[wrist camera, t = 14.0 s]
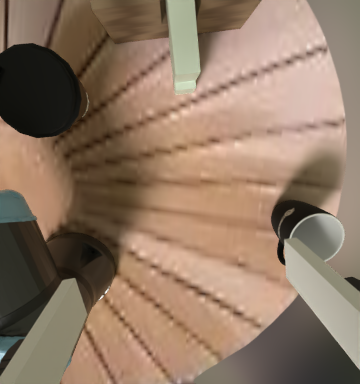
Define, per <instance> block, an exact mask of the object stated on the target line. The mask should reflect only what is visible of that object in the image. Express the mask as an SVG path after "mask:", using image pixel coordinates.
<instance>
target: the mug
mask: <svg viewBox="0 0 360 384" xmlns="http://www.w3.org/2000/svg"><path fill="white" fill-rule="evenodd" d="M271 223H272V226H273V229H274V231H275V233H276V235H277V236H278V238H279V243H278V248H277V255H278V258H279V261H280V262H281V263H282V264H283V265H285V266H286V264H285V259H284V255H283V249H284V240H285V239H290V238H297V239H299V240H300V241H301V242H302V243H303V244H304V245H306V246H307V247H308V248H309V249H310V250H311V251H313V252H314V253H315V254H316V255H317V256H318V257H320V258H321V259H322V260H323V261H324V262H325V261H327V260H329V259H331V258H332V257H333V256H334V255H336V254H337V253H338V251H339V250H340V248H341V246H342V245H343V242H344V237H345V232H344V227H343V225H342V223H341V222H340V221H339V220H338V219H337V218H336V217H335V216H333V215H332V214H330V213H328V212H326V211H324V210H322V209H320V208H318V207H315V206H313V205H310V204H307V203H304V202H301V201H295V200H290V201H285V202H282V203H281V204H279V205H278V206H277V207H276V208H275V209H274V211H273V213H272V216H271Z"/></svg>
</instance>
